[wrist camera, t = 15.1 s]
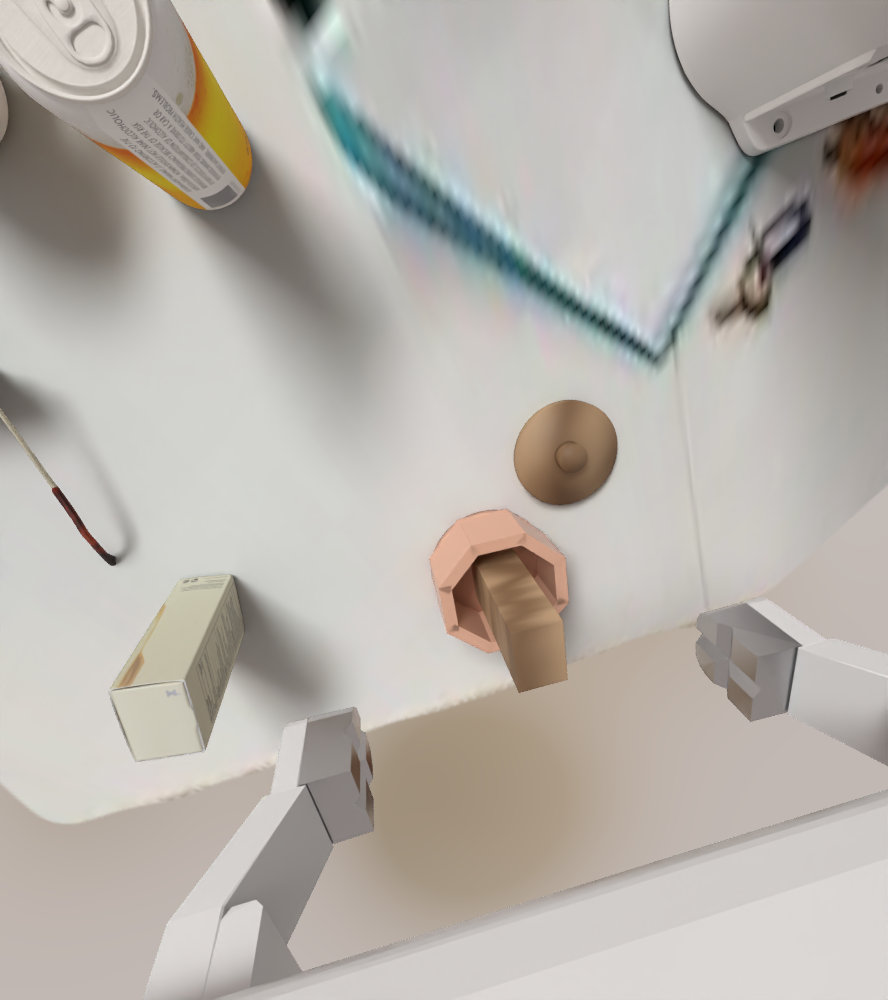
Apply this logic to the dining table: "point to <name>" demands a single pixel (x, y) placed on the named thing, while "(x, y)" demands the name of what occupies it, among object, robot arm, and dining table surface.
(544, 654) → the brown wooden block
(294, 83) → the dining table surface
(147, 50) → the beer can
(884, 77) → the robot arm
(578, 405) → the jar lid
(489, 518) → the jar
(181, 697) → the skincare box
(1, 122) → the cup
